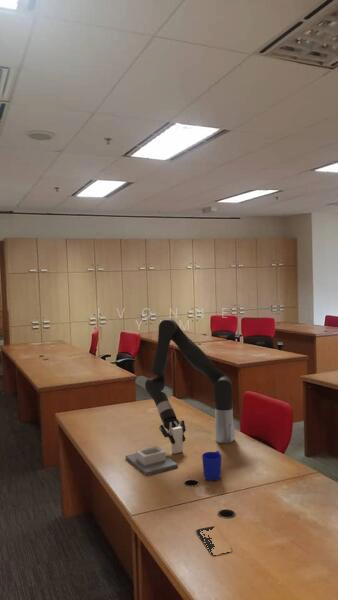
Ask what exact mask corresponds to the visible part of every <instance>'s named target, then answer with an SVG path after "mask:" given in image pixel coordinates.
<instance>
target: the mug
mask: <svg viewBox="0 0 338 600" xmlns="http://www.w3.org/2000/svg"><path fill="white" fill-rule="evenodd" d="M201 458H202V466H203V467H202V469H203V476H204V479H205V480H207V481H210V482H214V481H218V480H220V479H221V472H222V454H221V453H220V451H219V450H216V451H206V452H204V453H202V455H201Z"/></svg>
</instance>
